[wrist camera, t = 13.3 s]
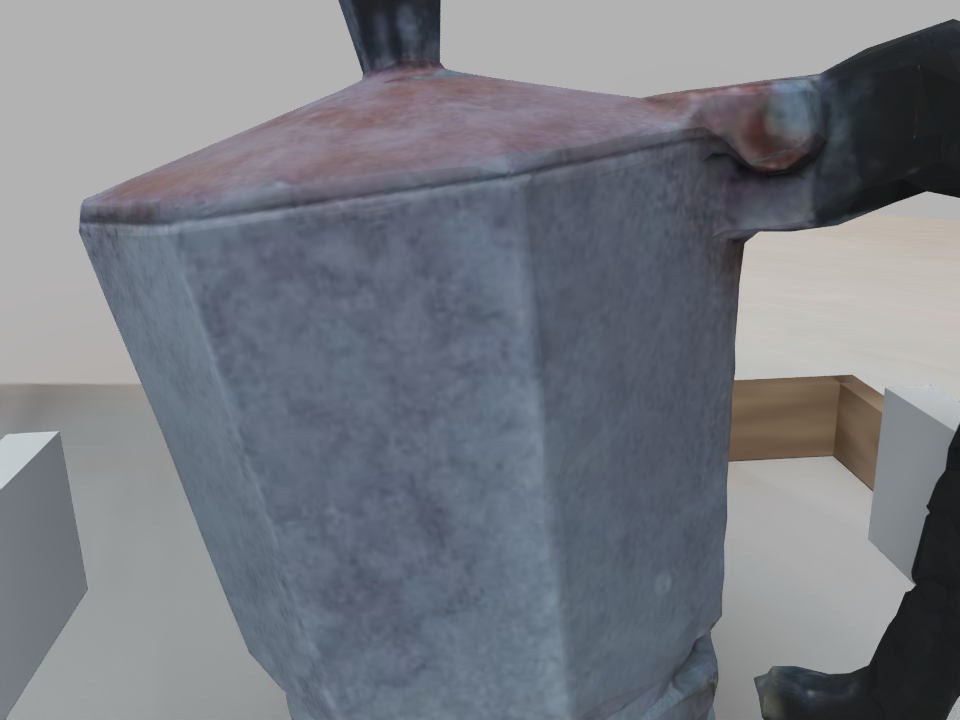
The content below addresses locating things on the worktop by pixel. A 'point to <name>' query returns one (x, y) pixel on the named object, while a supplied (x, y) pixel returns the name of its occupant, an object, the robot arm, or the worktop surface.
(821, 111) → the moka pot
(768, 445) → the frame
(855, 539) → the worktop surface
